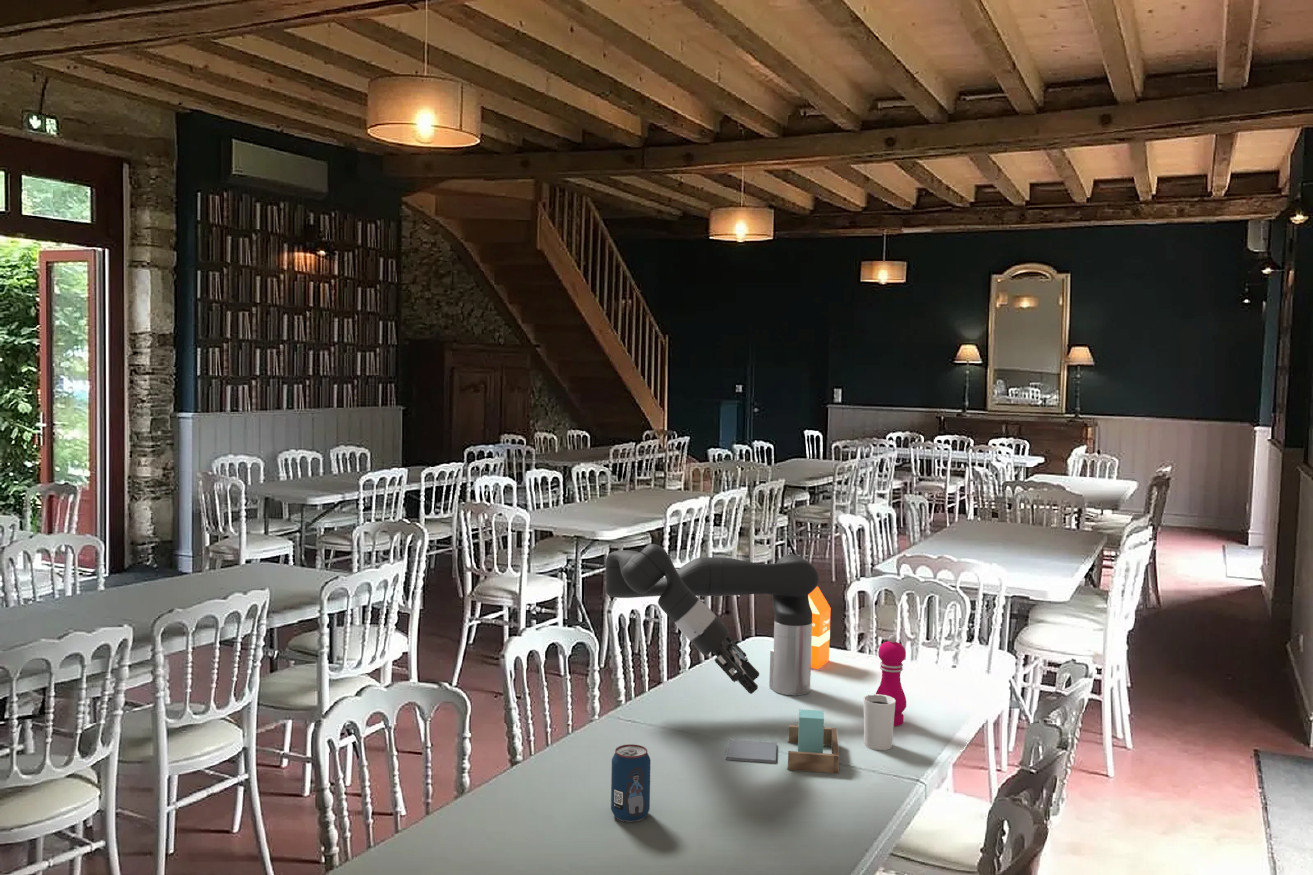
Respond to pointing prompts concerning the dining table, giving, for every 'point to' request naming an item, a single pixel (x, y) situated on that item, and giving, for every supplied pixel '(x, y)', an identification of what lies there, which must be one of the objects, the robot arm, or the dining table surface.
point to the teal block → (811, 731)
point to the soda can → (630, 783)
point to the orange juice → (819, 628)
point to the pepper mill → (893, 675)
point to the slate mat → (751, 751)
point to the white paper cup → (878, 721)
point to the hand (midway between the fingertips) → (755, 684)
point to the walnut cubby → (814, 754)
